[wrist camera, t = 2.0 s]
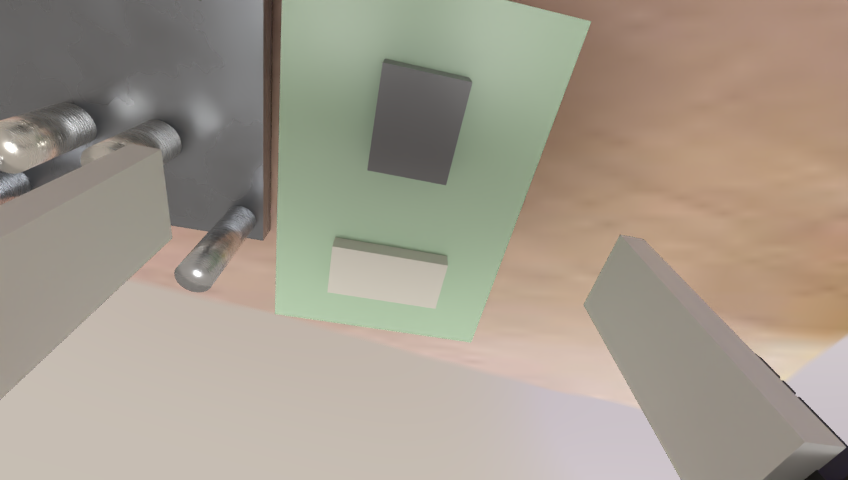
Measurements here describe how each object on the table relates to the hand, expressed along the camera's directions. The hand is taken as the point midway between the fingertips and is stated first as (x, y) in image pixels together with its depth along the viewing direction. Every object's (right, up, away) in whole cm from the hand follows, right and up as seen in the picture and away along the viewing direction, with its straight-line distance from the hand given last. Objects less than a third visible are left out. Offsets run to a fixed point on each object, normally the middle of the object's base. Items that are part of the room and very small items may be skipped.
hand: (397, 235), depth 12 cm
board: (0, +3, +4) cm, 5 cm away
